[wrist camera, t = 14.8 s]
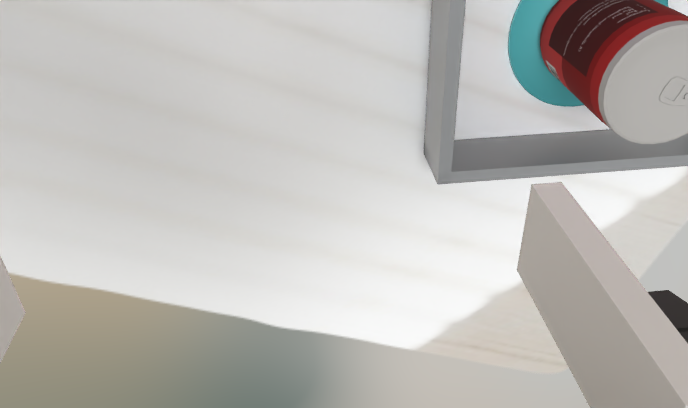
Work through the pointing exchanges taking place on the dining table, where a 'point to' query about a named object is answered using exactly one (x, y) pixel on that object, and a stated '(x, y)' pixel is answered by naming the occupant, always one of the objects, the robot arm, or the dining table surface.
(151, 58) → the dining table surface
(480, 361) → the dining table surface
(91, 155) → the dining table surface
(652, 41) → the canned food
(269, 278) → the dining table surface
